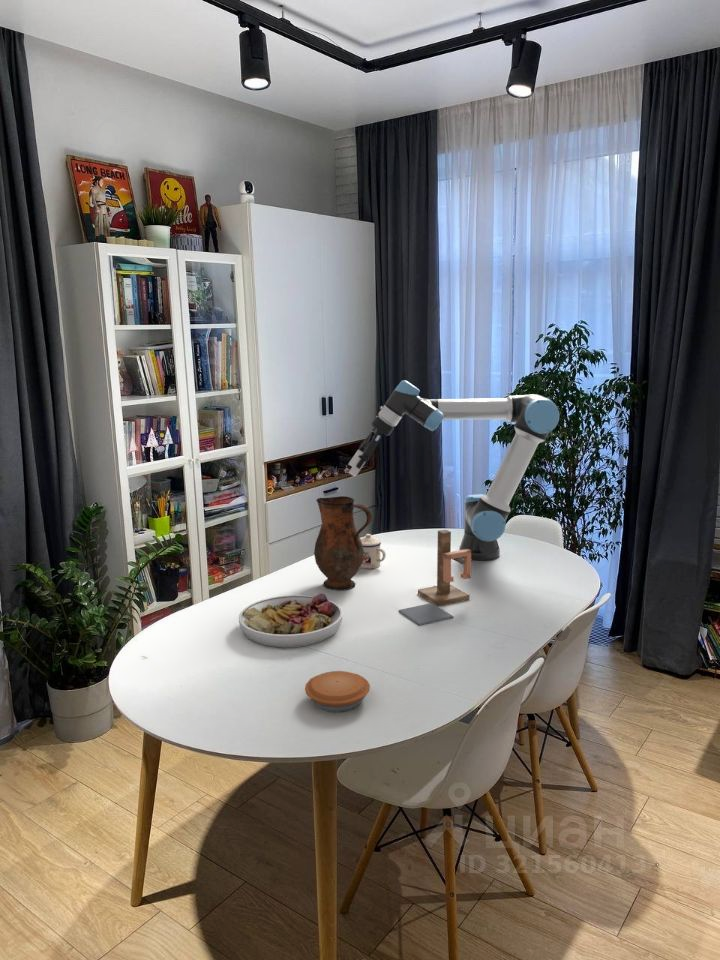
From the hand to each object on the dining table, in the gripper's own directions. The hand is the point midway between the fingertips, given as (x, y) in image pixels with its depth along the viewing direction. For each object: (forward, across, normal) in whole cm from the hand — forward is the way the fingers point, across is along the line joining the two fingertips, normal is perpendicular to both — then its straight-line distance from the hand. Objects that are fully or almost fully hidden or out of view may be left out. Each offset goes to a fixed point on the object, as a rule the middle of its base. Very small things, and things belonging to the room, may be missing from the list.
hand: (351, 470), depth 267 cm
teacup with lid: (+26, 0, +26) cm, 37 cm away
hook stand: (+12, +33, +45) cm, 57 cm away
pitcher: (+31, +20, +18) cm, 41 cm away
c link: (+4, +38, +42) cm, 56 cm away
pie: (+31, +96, +15) cm, 103 cm away
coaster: (+16, +46, +38) cm, 62 cm away
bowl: (+40, +54, +5) cm, 67 cm away
